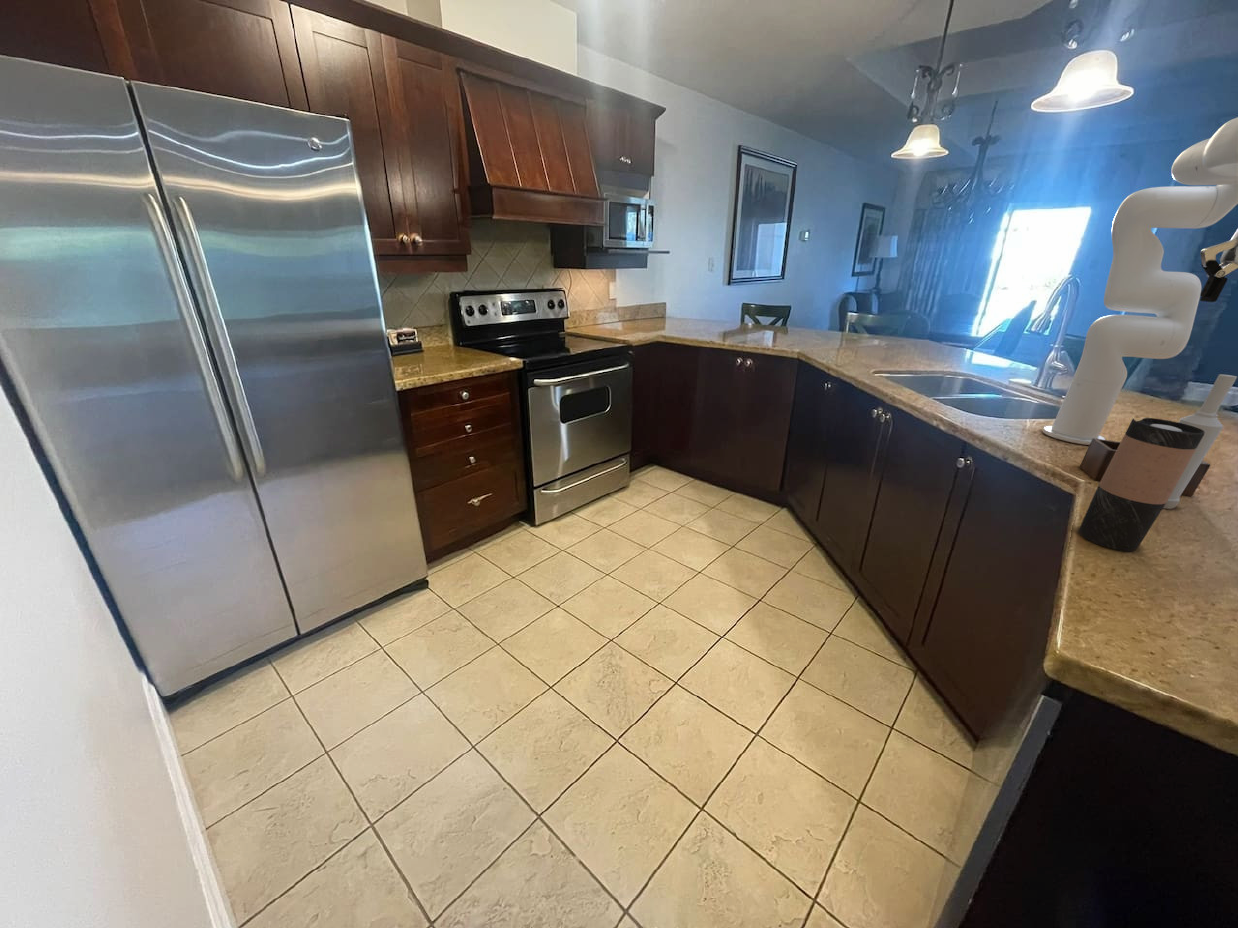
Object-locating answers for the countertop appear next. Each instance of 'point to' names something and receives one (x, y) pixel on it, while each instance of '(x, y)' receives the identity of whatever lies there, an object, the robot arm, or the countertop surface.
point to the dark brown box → (1103, 453)
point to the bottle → (1210, 426)
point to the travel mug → (1139, 482)
